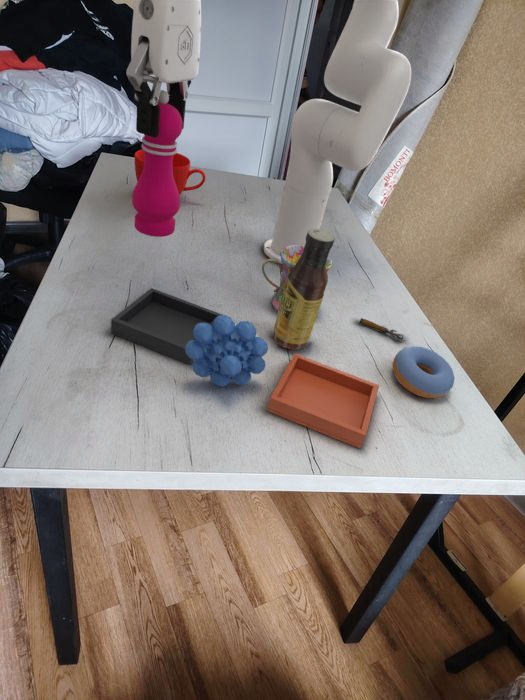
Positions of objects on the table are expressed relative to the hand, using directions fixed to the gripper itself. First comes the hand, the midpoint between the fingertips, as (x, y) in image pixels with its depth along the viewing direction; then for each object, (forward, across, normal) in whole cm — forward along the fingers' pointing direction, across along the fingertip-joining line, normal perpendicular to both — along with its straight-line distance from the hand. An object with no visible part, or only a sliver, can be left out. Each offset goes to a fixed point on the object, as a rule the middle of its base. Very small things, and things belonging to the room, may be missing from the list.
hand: (160, 129), depth 67 cm
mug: (+28, +12, -21) cm, 37 cm away
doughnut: (+28, +5, -48) cm, 55 cm away
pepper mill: (+15, 0, 0) cm, 15 cm away
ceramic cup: (+28, +40, +20) cm, 53 cm away
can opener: (+28, +16, -39) cm, 51 cm away
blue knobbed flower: (+28, -15, -21) cm, 38 cm away
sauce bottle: (+28, +2, -26) cm, 38 cm away
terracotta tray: (+28, -10, -35) cm, 45 cm away
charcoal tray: (+27, -7, -8) cm, 29 cm away
